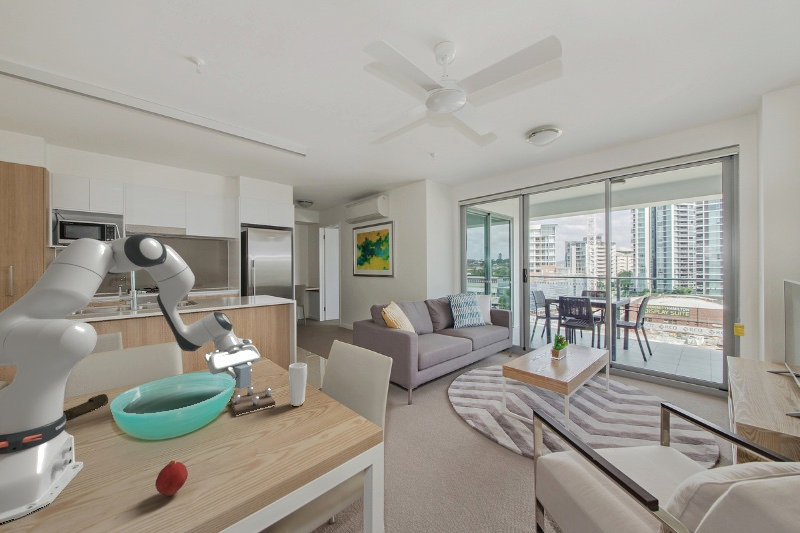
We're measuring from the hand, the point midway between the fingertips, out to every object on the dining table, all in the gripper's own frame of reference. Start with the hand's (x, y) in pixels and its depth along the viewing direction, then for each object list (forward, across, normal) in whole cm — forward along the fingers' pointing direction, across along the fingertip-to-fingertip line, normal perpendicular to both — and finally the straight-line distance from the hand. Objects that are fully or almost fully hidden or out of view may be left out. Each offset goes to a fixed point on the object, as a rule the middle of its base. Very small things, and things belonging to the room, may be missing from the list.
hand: (243, 375), depth 121 cm
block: (+3, 0, +4) cm, 4 cm away
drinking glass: (+23, +6, -11) cm, 26 cm away
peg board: (+13, -2, -1) cm, 13 cm away
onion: (+32, -41, -18) cm, 55 cm away
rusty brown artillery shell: (-18, -38, +32) cm, 53 cm away
